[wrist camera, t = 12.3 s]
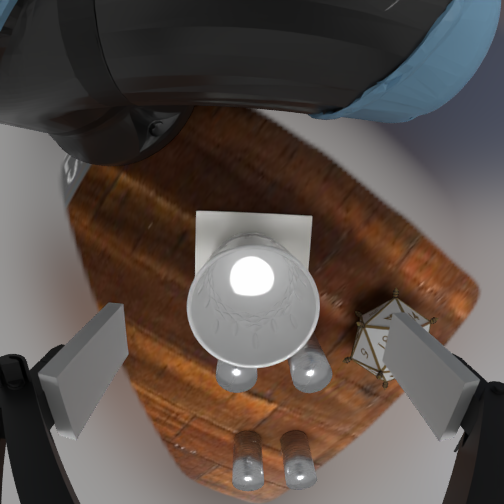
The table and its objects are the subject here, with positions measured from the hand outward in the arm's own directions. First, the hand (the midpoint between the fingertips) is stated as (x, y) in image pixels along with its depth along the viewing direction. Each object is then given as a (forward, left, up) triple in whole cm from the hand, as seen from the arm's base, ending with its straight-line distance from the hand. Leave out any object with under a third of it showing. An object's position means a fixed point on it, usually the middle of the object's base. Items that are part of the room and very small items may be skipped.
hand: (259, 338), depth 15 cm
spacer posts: (+14, +2, -15) cm, 21 cm away
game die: (+6, +13, -15) cm, 21 cm away
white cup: (0, 0, -14) cm, 14 cm away
